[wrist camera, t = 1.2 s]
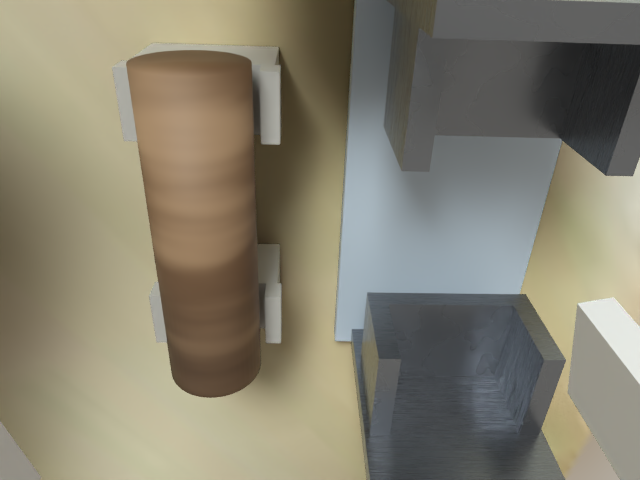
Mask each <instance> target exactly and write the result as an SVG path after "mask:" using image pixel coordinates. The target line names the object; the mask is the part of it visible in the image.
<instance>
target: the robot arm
mask: <svg viewBox="0 0 640 480" xmlns="http://www.w3.org/2000/svg"><path fill="white" fill-rule="evenodd" d="M568 394H569V396H570V397H571V399H572V401H573V402H574V404H575V406H576V407H577V409H578V411H579V412H580V414H581V416H582V417H583V419H584V421H585V422H586V424H587V426H588V427H589V429H590V431H591V432H592V434H593V436H594V437H595V439H596V441H597V442H598V444H599V446H600V447H601V449H602V451H603V452H604V454H605V456H606V457H607V459H608V461H609V462H610V464H611V466H612V467H613V469H614V470H615V472H616V474H617V475H618V477H619V479H620V480H640V327H639V326H638V324H637V323H636V322H635V321H634V320H633V319H632V318H631V317H630V315H629V314H628V313H627V312H626V311H625V310H624V309H623V307H622V306H621V305H620V304H619V303H618V302H617V301H616V299H615V298H614V297H613V298H607V299H601V300H595V301H589V302H583V303H577V312H576V321H575V330H574V339H573V348H572V358H571V367H570V376H569V385H568ZM40 479H41V476H40V475H39V473H38V472H37V471H36V469H35V468H34V466H33V465H32V464H31V462H30V461H29V460H28V458H27V457H26V456H25V454H24V453H23V451H22V450H21V449H20V447H19V446H18V445H17V443H16V442H15V440H14V439H13V438H12V436H11V435H10V434H9V432H8V431H7V430H6V428H5V427H4V425H3V424H2V423H1V421H0V480H40Z"/></svg>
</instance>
